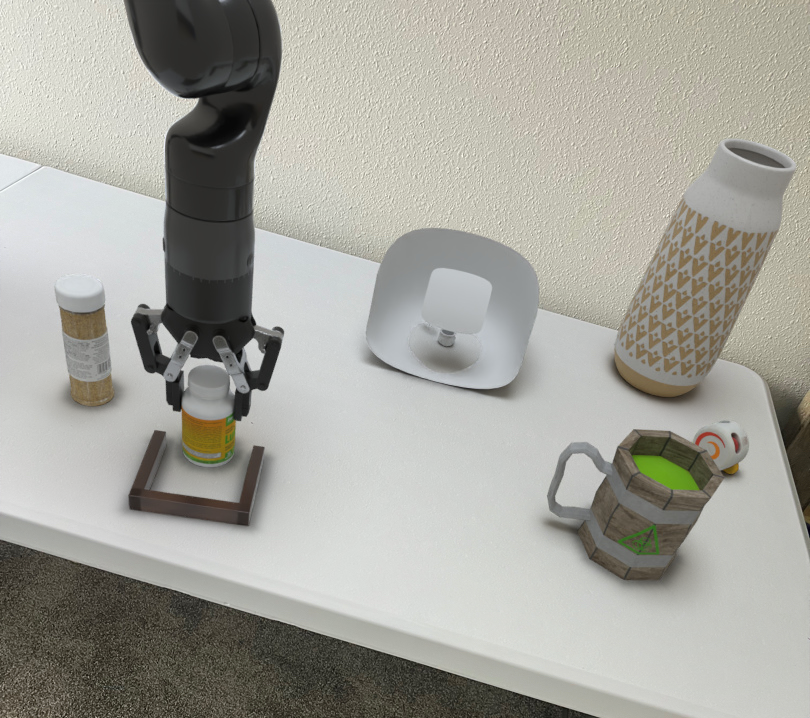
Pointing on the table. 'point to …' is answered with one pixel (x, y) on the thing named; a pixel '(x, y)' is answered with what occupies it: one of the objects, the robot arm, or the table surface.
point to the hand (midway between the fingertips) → (208, 410)
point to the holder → (191, 505)
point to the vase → (703, 269)
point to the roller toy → (724, 444)
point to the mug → (641, 501)
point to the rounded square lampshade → (454, 303)
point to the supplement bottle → (208, 417)
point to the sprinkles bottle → (85, 338)
